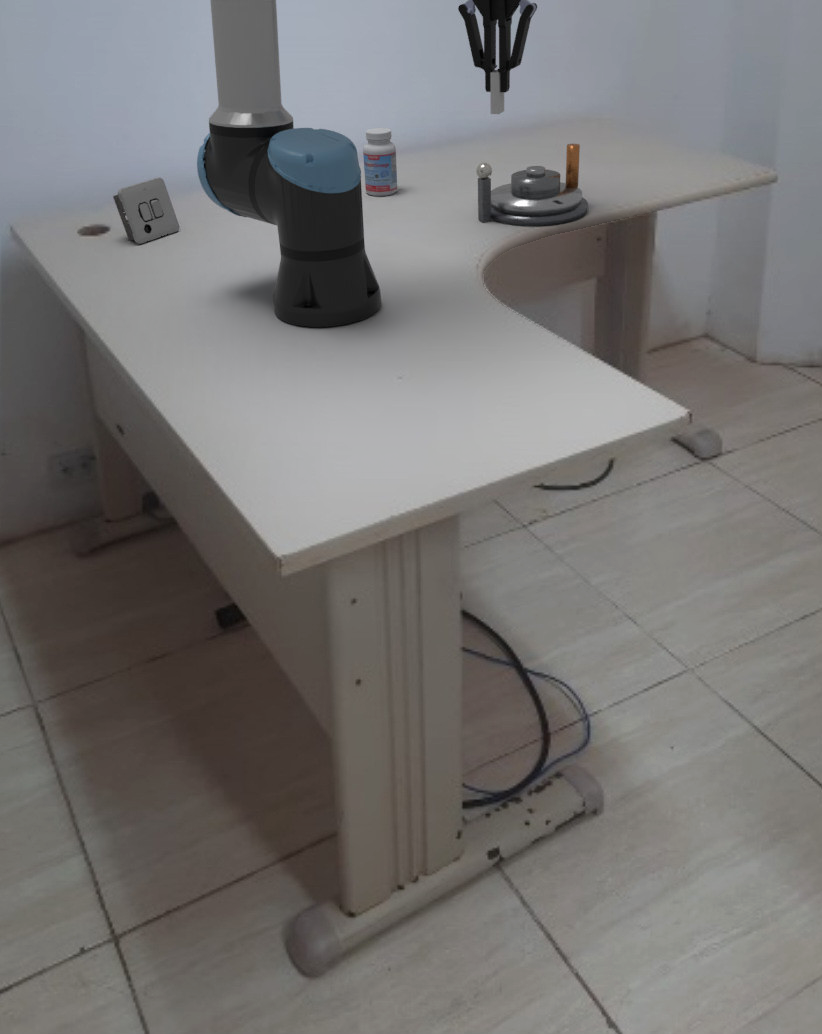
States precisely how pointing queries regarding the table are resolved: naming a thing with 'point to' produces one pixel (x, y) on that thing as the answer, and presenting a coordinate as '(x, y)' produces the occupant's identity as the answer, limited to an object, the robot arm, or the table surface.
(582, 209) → the turntable base
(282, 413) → the table surface
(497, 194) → the platter
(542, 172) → the cover
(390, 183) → the pill bottle
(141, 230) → the electrical switch
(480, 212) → the post
